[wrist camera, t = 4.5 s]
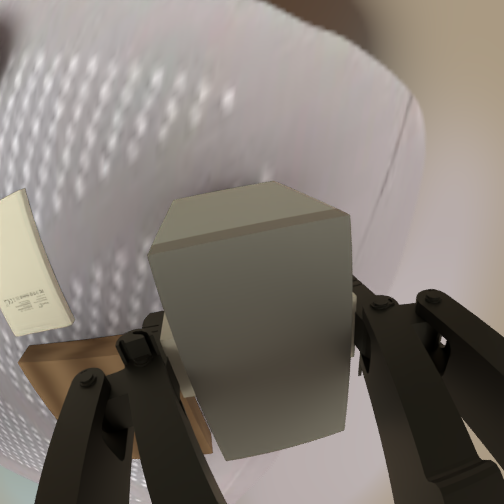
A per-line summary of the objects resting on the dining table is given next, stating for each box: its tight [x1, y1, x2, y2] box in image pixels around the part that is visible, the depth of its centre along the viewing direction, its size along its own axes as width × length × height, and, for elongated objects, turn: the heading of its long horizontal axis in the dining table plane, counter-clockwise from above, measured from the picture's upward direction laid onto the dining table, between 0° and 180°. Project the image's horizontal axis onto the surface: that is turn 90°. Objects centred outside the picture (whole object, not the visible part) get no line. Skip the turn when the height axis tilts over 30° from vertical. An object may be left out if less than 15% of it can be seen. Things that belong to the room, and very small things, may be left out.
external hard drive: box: [0, 188, 75, 336], centre depth 20 cm, size 2×8×12 cm
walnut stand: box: [18, 335, 213, 459], centre depth 25 cm, size 16×16×3 cm
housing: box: [147, 181, 352, 461], centre depth 12 cm, size 5×9×8 cm, turn 9°
